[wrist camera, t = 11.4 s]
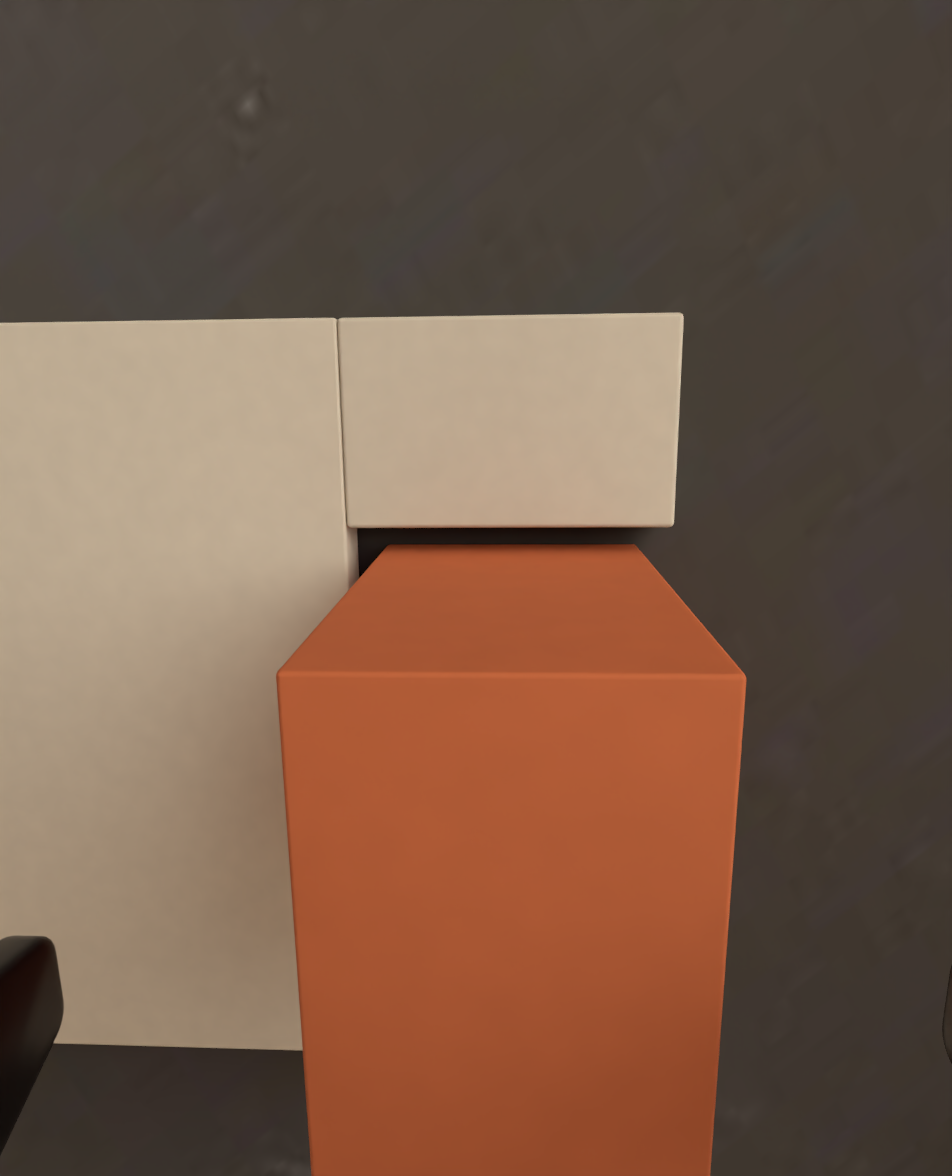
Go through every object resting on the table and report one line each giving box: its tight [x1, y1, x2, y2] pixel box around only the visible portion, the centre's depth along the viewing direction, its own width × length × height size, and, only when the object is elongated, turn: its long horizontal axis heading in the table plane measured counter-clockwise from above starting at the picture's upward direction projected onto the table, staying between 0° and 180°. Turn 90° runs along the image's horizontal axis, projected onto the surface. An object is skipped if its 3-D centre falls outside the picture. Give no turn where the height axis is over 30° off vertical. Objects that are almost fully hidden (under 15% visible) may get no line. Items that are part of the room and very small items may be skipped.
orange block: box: [276, 544, 746, 1176], centre depth 12 cm, size 6×4×7 cm
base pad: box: [0, 313, 684, 1050], centre depth 15 cm, size 14×18×1 cm
